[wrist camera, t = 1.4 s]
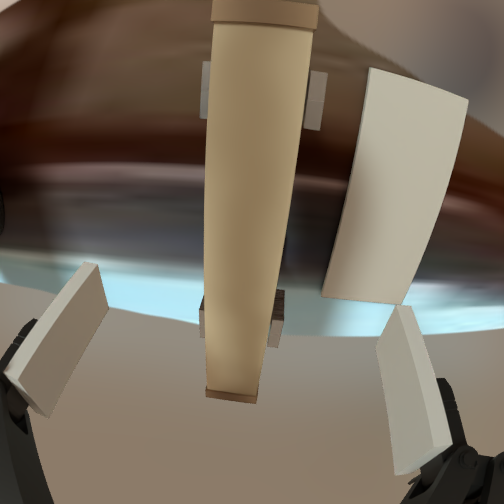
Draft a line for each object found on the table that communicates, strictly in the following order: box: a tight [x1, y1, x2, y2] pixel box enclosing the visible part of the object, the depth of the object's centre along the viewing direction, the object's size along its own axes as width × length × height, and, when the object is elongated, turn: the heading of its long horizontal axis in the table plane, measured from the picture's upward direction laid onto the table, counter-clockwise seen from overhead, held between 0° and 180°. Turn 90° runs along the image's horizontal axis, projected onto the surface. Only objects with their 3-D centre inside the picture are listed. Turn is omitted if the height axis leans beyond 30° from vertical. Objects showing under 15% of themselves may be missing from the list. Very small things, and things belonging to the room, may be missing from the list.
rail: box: [204, 0, 319, 404], centre depth 18 cm, size 4×24×6 cm, turn 175°
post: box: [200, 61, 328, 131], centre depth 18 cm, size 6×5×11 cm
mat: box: [321, 68, 468, 304], centre depth 28 cm, size 10×24×1 cm, turn 175°
